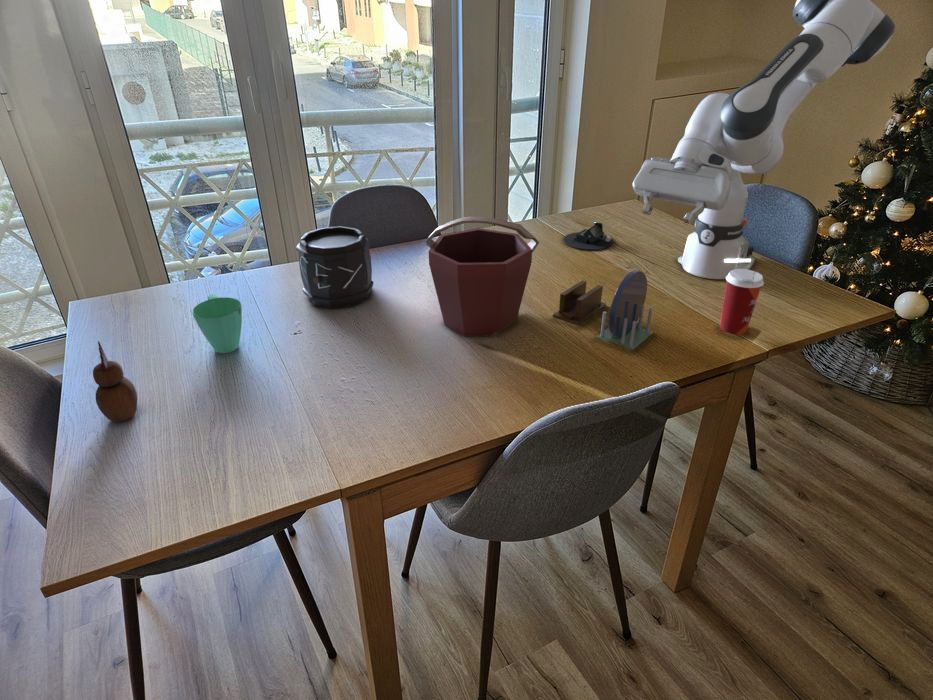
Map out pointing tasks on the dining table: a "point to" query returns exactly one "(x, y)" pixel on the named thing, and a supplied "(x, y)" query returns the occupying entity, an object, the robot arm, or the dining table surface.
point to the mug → (220, 322)
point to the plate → (627, 302)
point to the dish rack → (633, 337)
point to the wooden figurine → (114, 390)
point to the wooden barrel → (335, 266)
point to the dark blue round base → (589, 239)
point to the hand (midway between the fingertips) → (666, 217)
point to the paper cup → (740, 300)
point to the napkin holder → (579, 303)
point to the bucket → (480, 274)
